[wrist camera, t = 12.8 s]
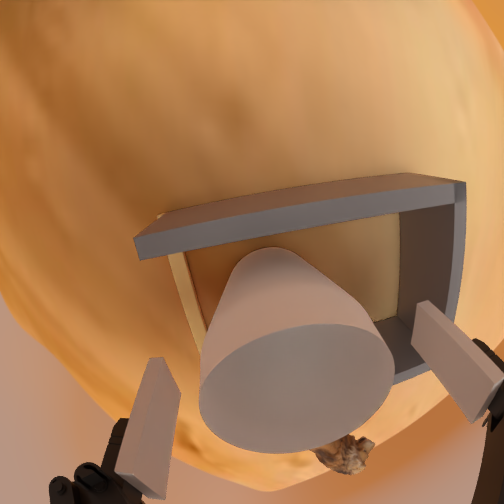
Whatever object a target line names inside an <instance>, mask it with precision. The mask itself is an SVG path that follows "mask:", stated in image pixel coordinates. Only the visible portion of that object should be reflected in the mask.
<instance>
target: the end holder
mask: <svg viewBox="0 0 504 504" xmlns="http://www.w3.org/2000/svg"><path fill="white" fill-rule="evenodd" d="M397 212H400V282H399V299H398V311H397V316H395V317H392V318H388V319H385V320H382V321H378V322H375V323H373V324H374V325H375V327H376V329H377V330H378V332H379V333H380V335H381V337H382V338H383V340H384V341H385V343H386V345H387V346H388V348H389V350H390V352H391V354H392V356H393V359H394V365H395V374H394V380H393V384H392V385H395V384H398V383H400V382H403V381H405V380H408V379H410V378H413V377H415V376H417V375H420V374H422V373H424V372H427V371H429V370H431V369H430V367H429V366H428V365H427V364H426V362H425V361H424V360H423V358H422V357H421V356H420V355H419V353H418V352H417V351H416V350H415V348H414V347H413V346H412V345H411V339H412V334H413V328H414V322H415V315H416V308H417V303H420V302H423V301H426V300H429V301H430V302H431V303H432V304H433V305H434V306H435V307H437V308H438V309H439V310H440V311H441V312H442V313H443V314H444V315H445V316H446V317H448V318H449V319H450V320H451V321H452V322H453V323H454V319H455V314H456V309H457V304H458V298H459V292H460V286H461V279H462V271H463V262H464V251H465V238H466V182H463V181H457V180H452V179H446V178H440V177H434V176H428V175H421V174H414V173H400V174H390V175H381V176H372V177H363V178H355V179H347V180H340V181H332V182H325V183H318V184H312V185H305V186H299V187H292V188H286V189H280V190H274V191H269V192H263V193H258V194H252V195H247V196H241V197H236V198H231V199H226V200H221V201H216V202H211V203H206V204H202V205H197V206H192V207H188V208H183V209H179V210H175V211H170V212H166V213H162V214H159V215H157V218H158V219H157V220H156V221H154V222H153V223H152V224H150V225H149V226H148V227H147V228H145V229H144V230H143V231H141V232H140V233H139V234H138V235H136V236H135V237H134V238H133V239H134V242H135V246H136V249H137V252H138V256H139V259H140V260H145V259H150V258H155V257H160V256H165V255H167V256H168V260H169V263H170V267H171V270H172V273H173V277H174V280H175V283H176V287H177V290H178V293H179V296H180V299H181V302H182V306H183V309H184V312H185V315H186V318H187V321H188V324H189V326H190V329H191V332H192V335H193V338H194V341H195V343H196V346H197V349H198V352H199V354H200V356H201V350H202V345H203V342H204V339H205V336H206V333H207V328H206V325H205V321H204V318H203V315H202V312H201V308H200V305H199V302H198V298H197V295H196V292H195V288H194V285H193V281H192V278H191V274H190V270H189V267H188V263H187V259H186V256H185V251H190V250H195V249H200V248H205V247H210V246H215V245H221V244H226V243H231V242H236V241H241V240H247V239H252V238H257V237H263V236H268V235H273V234H279V233H284V232H289V231H295V230H300V229H306V228H311V227H317V226H322V225H328V224H334V223H339V222H345V221H351V220H356V219H362V218H368V217H374V216H379V215H385V214H391V213H397Z"/></svg>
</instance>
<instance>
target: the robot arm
mask: <svg viewBox="0 0 504 504" xmlns="http://www.w3.org/2000/svg"><path fill="white" fill-rule="evenodd" d="M411 345H412V346H413V347H414V348H415V350H416V351H417V352H418V353H419V355H420V356H421V357H422V358H423V360H424V361H425V362H426V364H427V365H428V366H429V367H430V369H431V370H432V371H433V373H434V374H435V375H436V376H437V378H438V379H439V380H440V382H441V383H442V384H443V386H444V387H445V388H446V390H447V391H448V392H449V394H450V395H451V396H452V398H453V399H454V401H455V402H456V403H457V405H458V406H459V407H460V409H461V410H462V411H463V413H464V414H465V416H466V418H467V419H468V420H469V422H470V423H471V424H472V423H474V422H475V421H477V420H478V419H480V418H481V417H482V416H483V415H484V413H485V412H486V410H487V408H488V410H489V411H490V413H489V415H488V416H487V418H486V419H485V421H484V422H483V425H482V427H484V426H485V424H486V423H487V421H488V423H487V432H486V440H485V447H484V453H483V458H482V463H481V468H480V473H479V477H478V481H477V485H476V489H475V493H474V496H473V500H472V503H471V504H504V362H503V361H502V360H501V359H500V358H499V357H498V356H497V355H495V353H494V352H493V351H492V350H490V348H489V347H488V346H487V345H486V344H485V343H484V342H482V341H480V340H478V339H476V338H475V339H473V340H471V339H470V338H469V337H468V336H467V335H466V334H465V333H464V332H463V331H461V330H460V329H459V328H458V327H457V326H456V325H455V324H454V323H453V322H452V321H451V320H450V319H449V318H448V317H446V316H445V315H444V314H443V313H442V312H441V311H440V310H439V309H438V308H437V307H435V306H434V305H433V304H432V303H431V302H430V301H429V300H426V301H423V302H420V303H417V308H416V315H415V322H414V328H413V334H412V339H411ZM180 397H181V392H180V390H179V388H178V386H177V385H176V383H175V381H174V379H173V377H172V375H171V372H170V370H169V368H168V366H167V364H166V362H165V360H164V358H163V357H158V358H149V361H148V364H147V367H146V369H145V372H144V375H143V378H142V381H141V384H140V387H139V390H138V393H137V396H136V399H135V402H134V405H133V408H132V411H131V414H130V418H129V419H128V418H120V419H119V420H118V422H117V423H116V424H115V425H114V427H113V430H112V433H111V438H110V439H109V442H108V443H109V445H108V446H107V448H106V452H105V455H104V458H103V461H102V465H101V468H100V467H99V466H98V465H96V464H94V463H91V462H86V463H83V464H81V465H80V466H78V467H77V469H76V470H75V473H74V480H75V482H71V481H70V480H69V479H68V478H66V477H63V476H57V477H55V478H54V479H53V480H51V482H50V484H49V496H50V504H145V503H144V502H143V501H142V500H141V498H142V494H144V495H145V496H146V497H148V498H152V499H161V500H165V498H166V489H167V481H168V474H169V467H170V466H169V465H170V459H171V453H172V446H173V439H174V433H175V427H176V420H177V414H178V408H179V403H180Z"/></svg>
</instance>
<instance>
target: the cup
mask: <svg viewBox="0 0 504 504" xmlns="http://www.w3.org/2000/svg"><path fill="white" fill-rule="evenodd" d="M394 374H395V365H394V359H393V356H392V354H391V352H390V350H389V348H388V346H387V345H386V343H385V341H384V340H383V338H382V337H381V335H380V333H379V332H378V330H377V329H376V327H375V325H374V324H373V322H372V320H371V318H370V317H369V315H368V313H367V312H366V311H365V309H364V308H363V307H362V306H361V305H360V304H359V303H358V302H357V301H356V300H355V299H354V298H353V297H352V296H351V295H349V294H348V293H347V292H346V291H344V290H343V289H342V288H341V287H339V286H338V285H337V284H335V283H334V282H333V281H331V280H330V279H329V278H328V277H326V276H325V275H324V274H322V273H321V272H320V271H318V270H317V269H316V268H314V267H313V266H312V265H310V264H309V263H308V262H306V261H305V260H304V259H302V258H301V257H300V256H298V255H297V254H296V253H294V252H292V251H290V250H287V249H283V248H278V247H268V248H262V249H259V250H256V251H253V252H251V253H249V254H248V255H246V256H245V257H244V258H242V259H241V260H240V261H239V262H238V263H237V265H236V266H235V267H234V269H233V271H232V273H231V275H230V277H229V280H228V282H227V285H226V287H225V289H224V292H223V294H222V297H221V299H220V301H219V304H218V306H217V309H216V311H215V313H214V316H213V318H212V321H211V323H210V326H209V328H208V331H207V333H206V336H205V339H204V342H203V345H202V350H201V356H200V390H199V409H200V413H201V416H202V418H203V420H204V422H205V423H206V425H207V426H208V428H209V429H210V430H211V431H212V432H213V433H214V434H215V435H217V436H218V437H219V438H221V439H222V440H224V441H226V442H228V443H230V444H232V445H234V446H236V447H239V448H242V449H246V450H250V451H254V452H261V453H293V452H300V451H305V450H310V449H314V448H317V447H320V446H323V445H326V444H329V443H331V442H334V441H336V440H338V439H340V438H342V437H344V436H346V435H347V434H349V433H351V432H352V431H354V430H355V429H357V428H358V427H360V426H361V425H362V424H364V423H365V422H366V421H367V420H368V419H369V418H370V417H371V416H372V415H373V414H374V413H375V412H376V411H377V410H378V409H379V408H380V406H381V405H382V404H383V402H384V401H385V399H386V397H387V396H388V394H389V392H390V389H391V387H392V384H393V380H394Z"/></svg>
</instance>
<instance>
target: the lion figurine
mask: <svg viewBox="0 0 504 504" xmlns="http://www.w3.org/2000/svg"><path fill="white" fill-rule="evenodd" d="M374 446H375V443H374V442H372V441H371V440H369V439H366V437H364V436H363V437H361V438H360V439H358V440H355V437H354V436H353V435H352V436H351V435H349V434H347V435H346V436H344V437H342V438H340V439H338V440H336V441H334V442H331V443H329V444H326V445H323V446H320V447H317V448H314V449H310V451H312V452H314V453H315V454H316V456H317V458H318V459H319V461H320V462H321V463H323V464H324V465H325V466H326V467H327V468H330V469H332V470H333V471H336V472H338V473H343V474H349V475H352V474H356V473H359V472H361V471H363V470H364V469H365V467H366V465H365V463H364V462H365V460H366V459H367V458H368V454H369V452H370V451H371V450H372V449H373V447H374Z"/></svg>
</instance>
